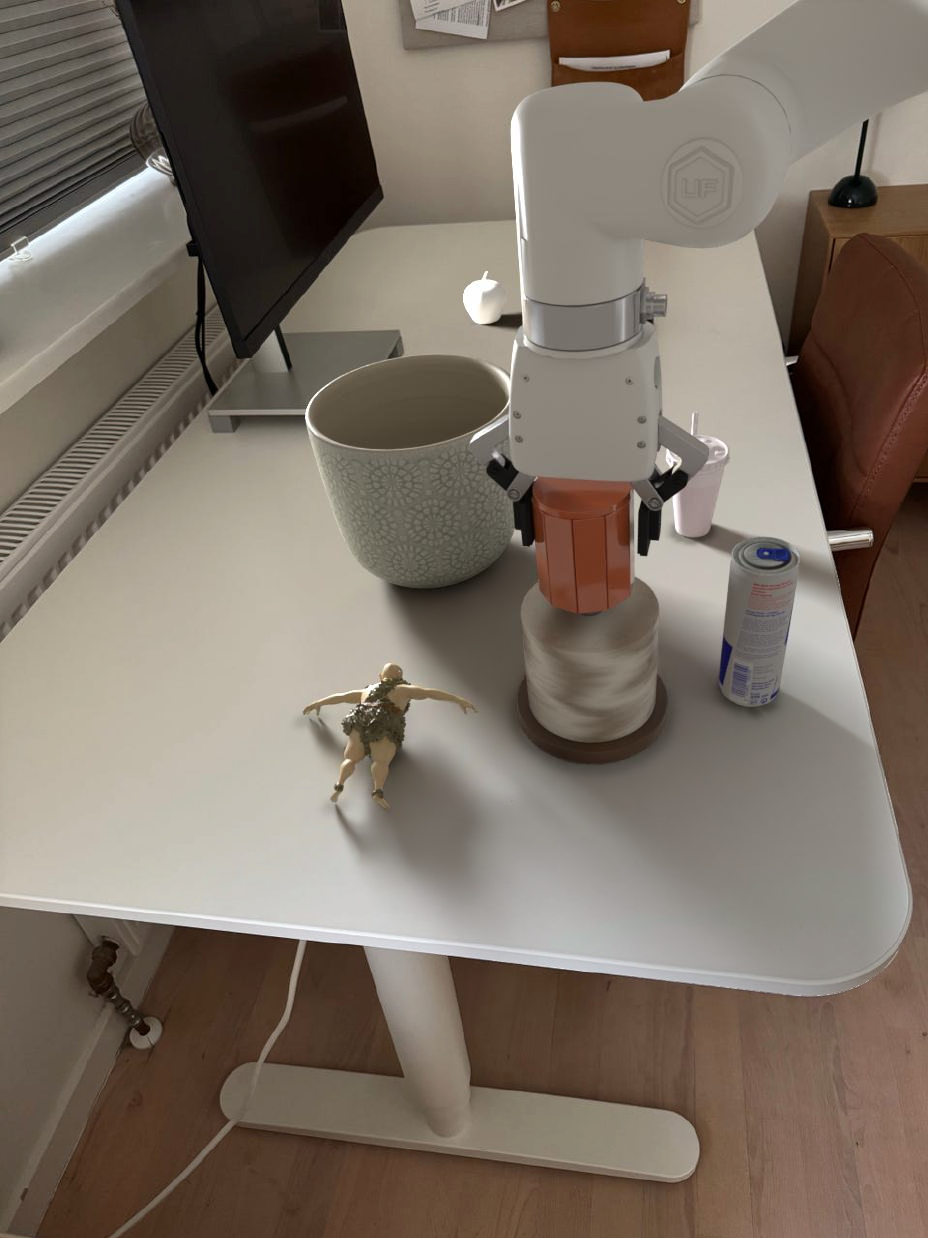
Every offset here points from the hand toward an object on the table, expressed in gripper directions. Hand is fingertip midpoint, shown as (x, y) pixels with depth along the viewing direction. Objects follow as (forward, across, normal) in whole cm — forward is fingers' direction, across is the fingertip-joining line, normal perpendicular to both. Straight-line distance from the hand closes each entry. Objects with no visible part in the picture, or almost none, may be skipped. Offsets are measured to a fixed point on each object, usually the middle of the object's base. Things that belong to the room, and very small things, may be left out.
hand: (587, 540), depth 67 cm
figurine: (+18, +17, +8) cm, 26 cm away
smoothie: (+18, -6, -29) cm, 35 cm away
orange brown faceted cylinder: (+4, 0, 0) cm, 4 cm away
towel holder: (+18, 0, 0) cm, 18 cm away
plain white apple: (+18, +33, -86) cm, 94 cm away
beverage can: (+18, -13, -4) cm, 23 cm away
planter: (+18, +21, -20) cm, 34 cm away
